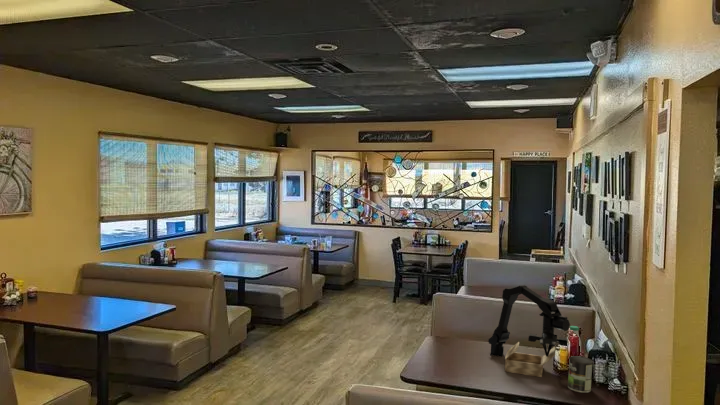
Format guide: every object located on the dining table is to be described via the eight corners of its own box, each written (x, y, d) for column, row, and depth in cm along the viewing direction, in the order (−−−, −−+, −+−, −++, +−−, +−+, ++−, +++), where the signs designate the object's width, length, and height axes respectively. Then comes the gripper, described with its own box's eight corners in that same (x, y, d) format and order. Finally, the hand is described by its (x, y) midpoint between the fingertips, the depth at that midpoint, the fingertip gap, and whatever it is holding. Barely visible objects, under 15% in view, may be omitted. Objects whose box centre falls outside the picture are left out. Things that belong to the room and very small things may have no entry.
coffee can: (574, 392, 247) (575, 362, 247) (563, 384, 257) (565, 355, 257) (595, 392, 248) (597, 363, 248) (584, 384, 258) (585, 355, 258)
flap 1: (519, 342, 284) (519, 341, 285) (517, 349, 270) (517, 349, 270) (508, 351, 287) (507, 350, 287) (505, 359, 273) (505, 358, 273)
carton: (504, 371, 272) (505, 359, 272) (507, 362, 287) (508, 351, 287) (541, 377, 266) (542, 365, 266) (542, 367, 281) (543, 356, 281)
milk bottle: (579, 361, 293) (581, 325, 293) (580, 366, 286) (582, 329, 285) (564, 359, 296) (566, 324, 295) (565, 363, 288) (567, 327, 288)
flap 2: (554, 354, 264) (555, 355, 264) (554, 346, 278) (555, 346, 278) (542, 364, 266) (543, 365, 266) (543, 356, 280) (543, 356, 280)
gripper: (528, 327, 268) (527, 358, 268) (568, 332, 261) (566, 363, 262) (529, 322, 278) (528, 351, 279) (567, 327, 272) (566, 357, 272)
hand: (546, 356), depth 273 cm, fingers closed
